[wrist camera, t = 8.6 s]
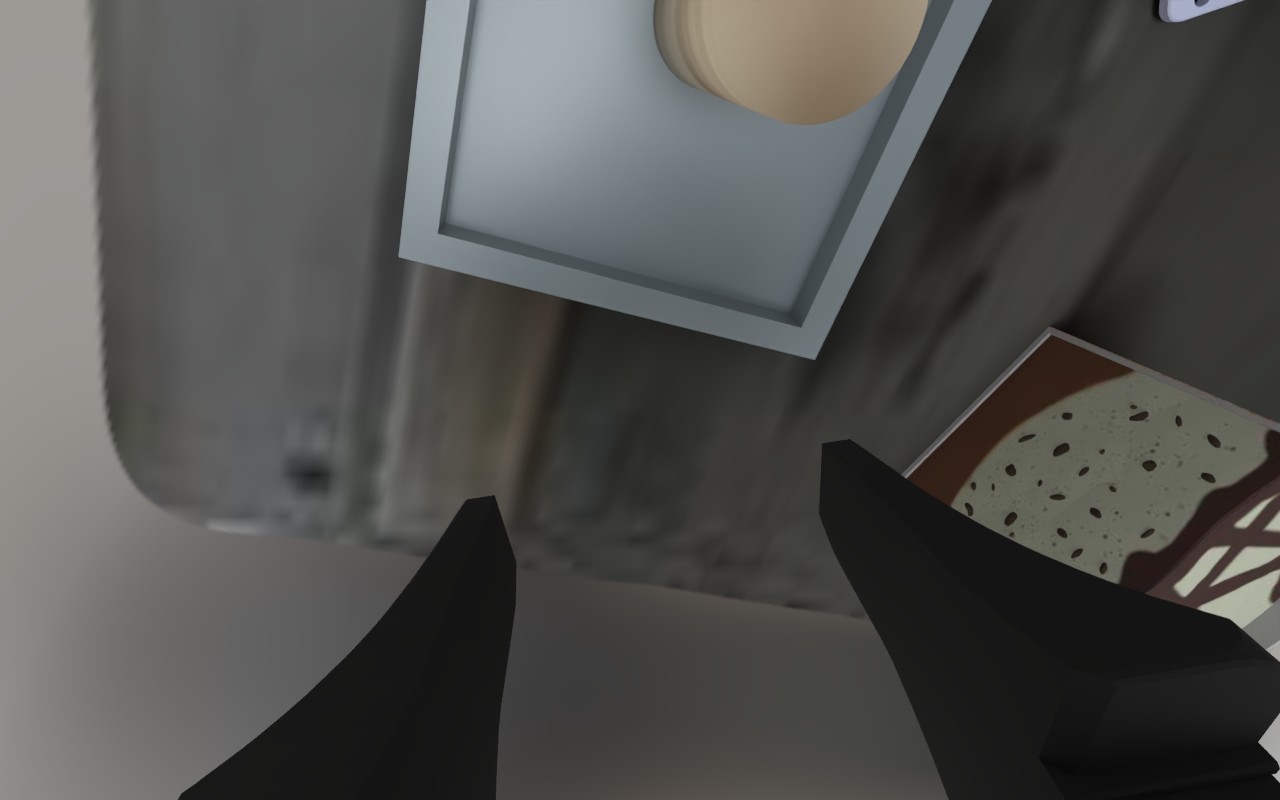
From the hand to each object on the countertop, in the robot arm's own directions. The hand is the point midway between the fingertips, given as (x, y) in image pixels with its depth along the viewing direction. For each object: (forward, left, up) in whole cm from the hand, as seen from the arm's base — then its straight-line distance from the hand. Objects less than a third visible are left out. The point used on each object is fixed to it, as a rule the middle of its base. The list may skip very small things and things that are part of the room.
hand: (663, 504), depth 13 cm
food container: (-14, +11, -10) cm, 20 cm away
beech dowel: (-5, -8, -9) cm, 13 cm away
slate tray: (-4, -7, -10) cm, 13 cm away
